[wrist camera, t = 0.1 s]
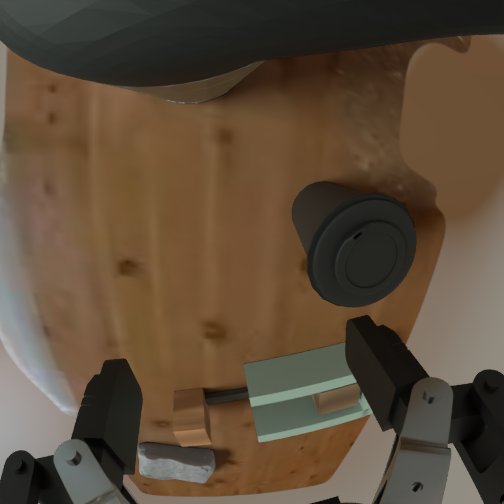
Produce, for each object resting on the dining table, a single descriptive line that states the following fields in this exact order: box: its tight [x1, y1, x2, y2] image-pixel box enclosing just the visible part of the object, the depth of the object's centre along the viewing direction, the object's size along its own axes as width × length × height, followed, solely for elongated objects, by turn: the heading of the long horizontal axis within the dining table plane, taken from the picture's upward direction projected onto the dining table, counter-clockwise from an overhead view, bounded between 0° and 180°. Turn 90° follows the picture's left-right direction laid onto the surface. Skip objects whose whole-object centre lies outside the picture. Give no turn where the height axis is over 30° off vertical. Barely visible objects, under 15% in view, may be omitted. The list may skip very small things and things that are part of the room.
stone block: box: [138, 443, 215, 483], centre depth 41 cm, size 12×5×10 cm
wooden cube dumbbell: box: [173, 382, 361, 447], centre depth 34 cm, size 4×21×6 cm, turn 97°
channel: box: [243, 342, 373, 442], centre depth 34 cm, size 10×15×5 cm, turn 97°
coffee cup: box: [292, 182, 416, 307], centre depth 23 cm, size 8×8×10 cm
